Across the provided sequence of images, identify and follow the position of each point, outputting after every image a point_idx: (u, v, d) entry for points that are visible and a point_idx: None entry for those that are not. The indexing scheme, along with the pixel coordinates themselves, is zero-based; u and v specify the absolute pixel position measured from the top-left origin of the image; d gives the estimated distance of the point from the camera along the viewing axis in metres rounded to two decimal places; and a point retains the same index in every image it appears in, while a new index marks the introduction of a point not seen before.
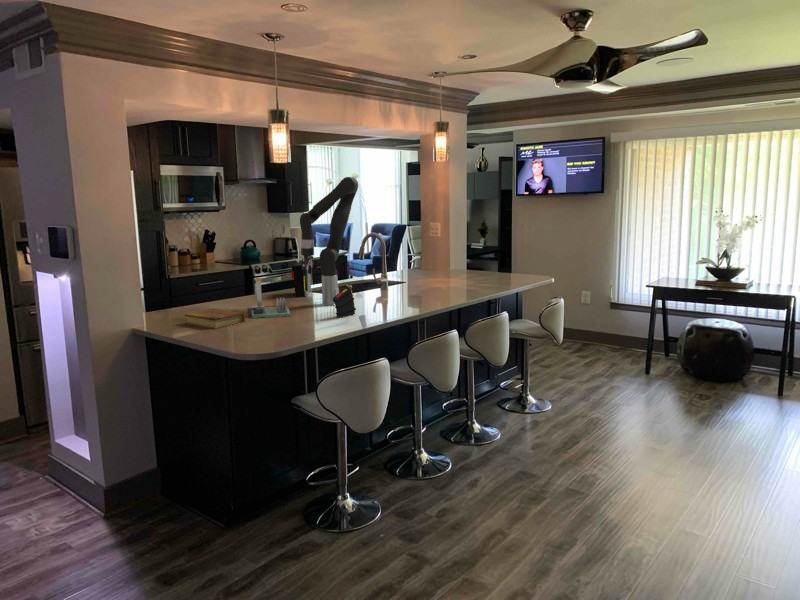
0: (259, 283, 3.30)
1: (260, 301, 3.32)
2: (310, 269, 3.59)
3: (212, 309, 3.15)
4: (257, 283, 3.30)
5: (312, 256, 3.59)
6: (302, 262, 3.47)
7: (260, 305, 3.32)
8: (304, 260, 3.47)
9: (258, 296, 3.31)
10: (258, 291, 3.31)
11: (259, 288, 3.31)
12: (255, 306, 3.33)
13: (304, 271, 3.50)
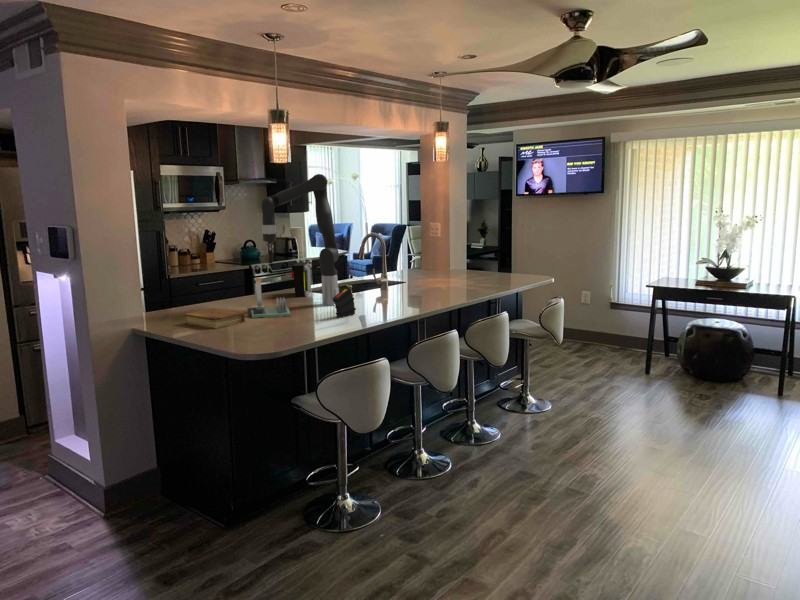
0: (259, 283, 3.30)
1: (260, 301, 3.32)
2: None
3: (212, 309, 3.15)
4: (257, 283, 3.30)
5: (268, 247, 3.41)
6: None
7: (260, 305, 3.32)
8: None
9: (258, 296, 3.31)
10: (258, 291, 3.31)
11: (259, 288, 3.31)
12: (255, 306, 3.33)
13: None
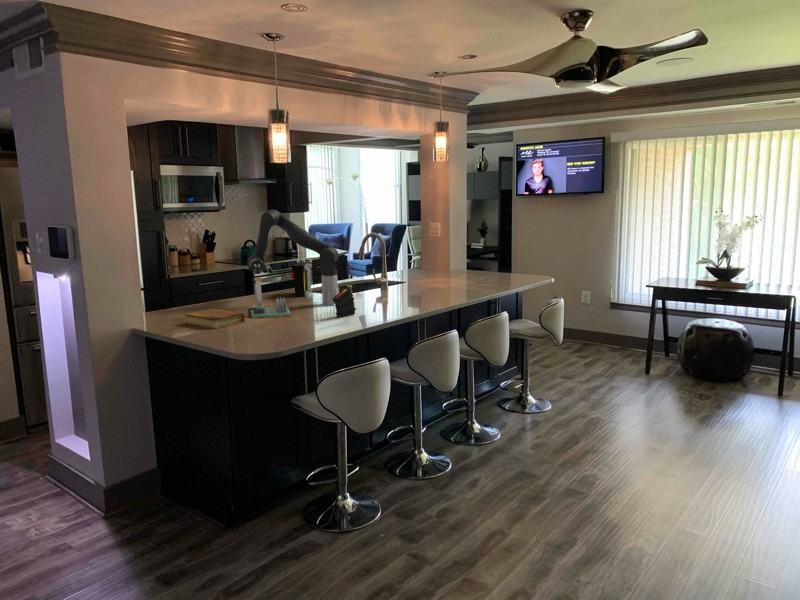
0: (259, 283, 3.30)
1: (260, 301, 3.32)
2: None
3: (212, 309, 3.15)
4: (257, 283, 3.30)
5: None
6: (266, 266, 3.47)
7: (260, 305, 3.32)
8: (267, 268, 3.49)
9: (258, 296, 3.31)
10: (258, 291, 3.31)
11: (259, 288, 3.31)
12: (255, 306, 3.33)
13: (260, 268, 3.42)
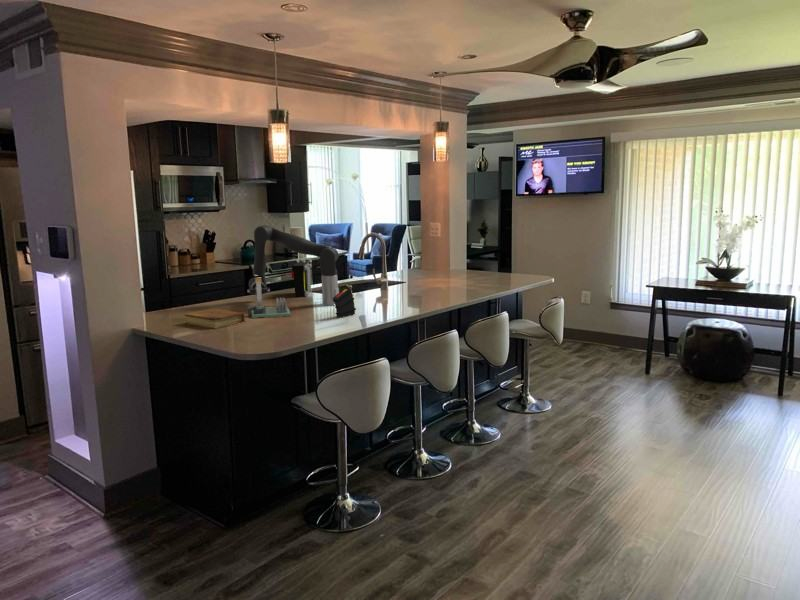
0: (259, 283, 3.30)
1: (260, 301, 3.32)
2: None
3: (212, 309, 3.15)
4: (257, 283, 3.30)
5: (248, 292, 3.41)
6: (267, 289, 3.41)
7: (260, 305, 3.32)
8: (268, 291, 3.42)
9: (258, 296, 3.31)
10: (258, 291, 3.31)
11: (259, 288, 3.30)
12: (255, 306, 3.33)
13: (261, 292, 3.36)
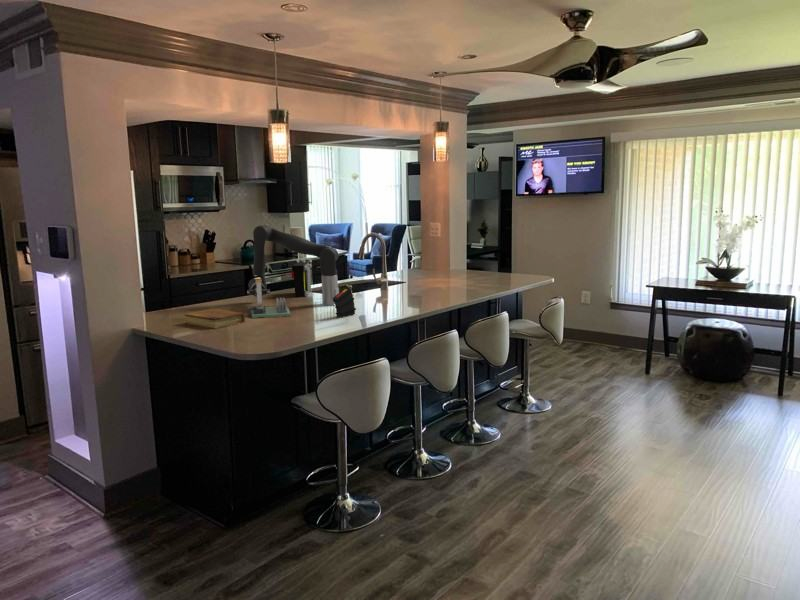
0: (259, 284, 3.26)
1: (260, 302, 3.28)
2: None
3: (212, 309, 3.15)
4: (257, 284, 3.26)
5: (248, 293, 3.37)
6: (267, 290, 3.37)
7: (260, 306, 3.28)
8: (268, 292, 3.38)
9: (258, 297, 3.27)
10: (258, 292, 3.27)
11: (259, 289, 3.27)
12: None
13: None
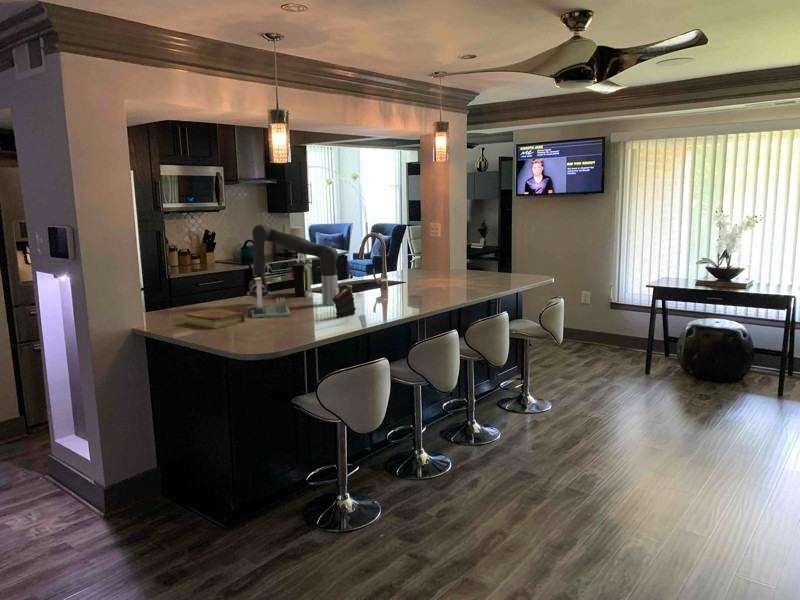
0: (259, 285, 3.21)
1: (260, 304, 3.23)
2: None
3: (212, 309, 3.15)
4: (257, 285, 3.21)
5: None
6: (267, 292, 3.32)
7: (260, 308, 3.24)
8: (269, 293, 3.34)
9: (258, 299, 3.22)
10: (258, 294, 3.22)
11: (259, 291, 3.22)
12: None
13: None
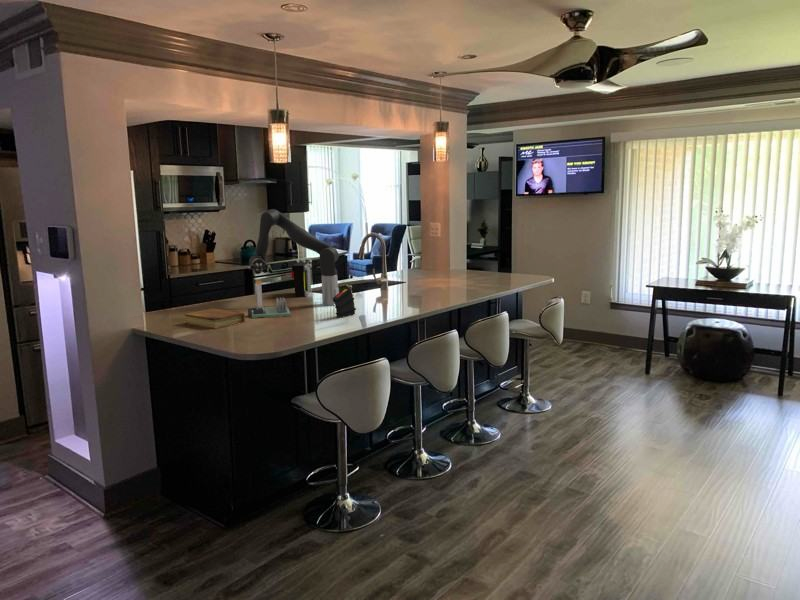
0: (259, 285, 3.22)
1: (260, 304, 3.23)
2: None
3: (212, 309, 3.15)
4: (257, 285, 3.21)
5: (249, 268, 3.48)
6: (267, 265, 3.47)
7: (260, 308, 3.24)
8: (269, 267, 3.49)
9: (258, 299, 3.23)
10: (258, 294, 3.22)
11: (259, 291, 3.22)
12: None
13: (262, 267, 3.42)
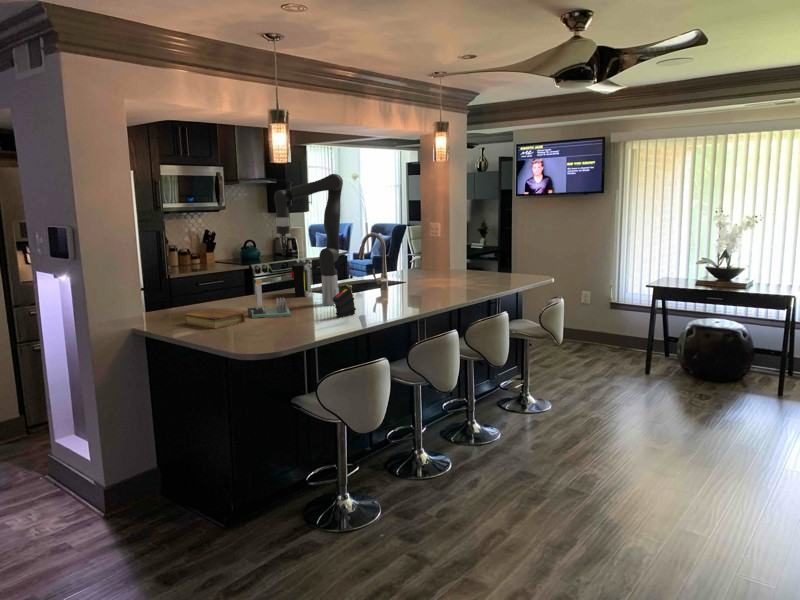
0: (259, 285, 3.22)
1: (260, 304, 3.23)
2: None
3: (212, 309, 3.15)
4: (257, 285, 3.21)
5: (282, 239, 3.45)
6: None
7: (260, 308, 3.24)
8: None
9: (258, 299, 3.23)
10: (258, 294, 3.22)
11: (259, 291, 3.22)
12: None
13: None
